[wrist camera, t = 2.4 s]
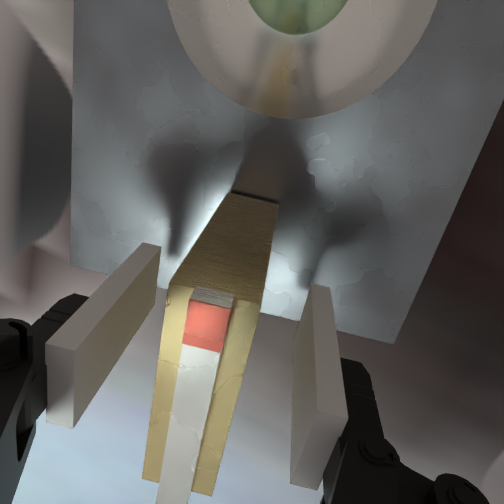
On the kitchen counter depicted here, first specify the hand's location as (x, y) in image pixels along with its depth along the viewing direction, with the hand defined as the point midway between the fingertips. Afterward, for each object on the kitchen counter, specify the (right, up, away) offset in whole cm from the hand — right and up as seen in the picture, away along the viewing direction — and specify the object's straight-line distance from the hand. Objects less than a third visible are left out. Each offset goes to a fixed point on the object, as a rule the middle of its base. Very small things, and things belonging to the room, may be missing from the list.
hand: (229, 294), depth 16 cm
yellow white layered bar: (0, +1, +2) cm, 2 cm away
